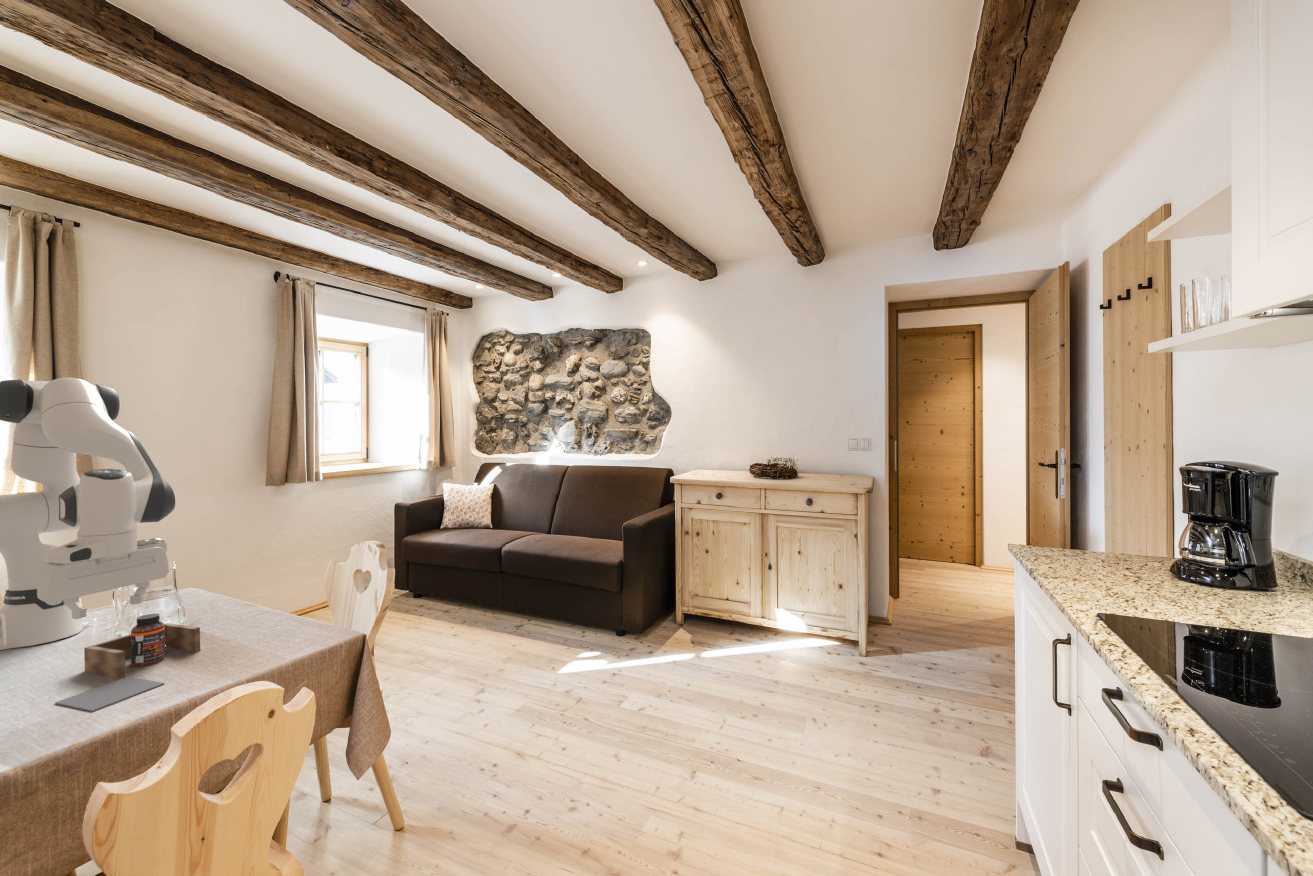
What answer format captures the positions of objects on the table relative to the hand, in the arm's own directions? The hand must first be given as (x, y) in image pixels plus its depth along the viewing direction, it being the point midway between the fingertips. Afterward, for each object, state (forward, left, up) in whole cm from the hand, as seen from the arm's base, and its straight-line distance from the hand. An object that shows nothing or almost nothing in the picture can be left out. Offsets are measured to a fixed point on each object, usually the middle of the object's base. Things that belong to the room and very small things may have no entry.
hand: (108, 610), depth 112 cm
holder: (-12, +13, -18) cm, 25 cm away
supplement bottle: (-11, +13, -18) cm, 25 cm away
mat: (0, 0, -18) cm, 18 cm away
